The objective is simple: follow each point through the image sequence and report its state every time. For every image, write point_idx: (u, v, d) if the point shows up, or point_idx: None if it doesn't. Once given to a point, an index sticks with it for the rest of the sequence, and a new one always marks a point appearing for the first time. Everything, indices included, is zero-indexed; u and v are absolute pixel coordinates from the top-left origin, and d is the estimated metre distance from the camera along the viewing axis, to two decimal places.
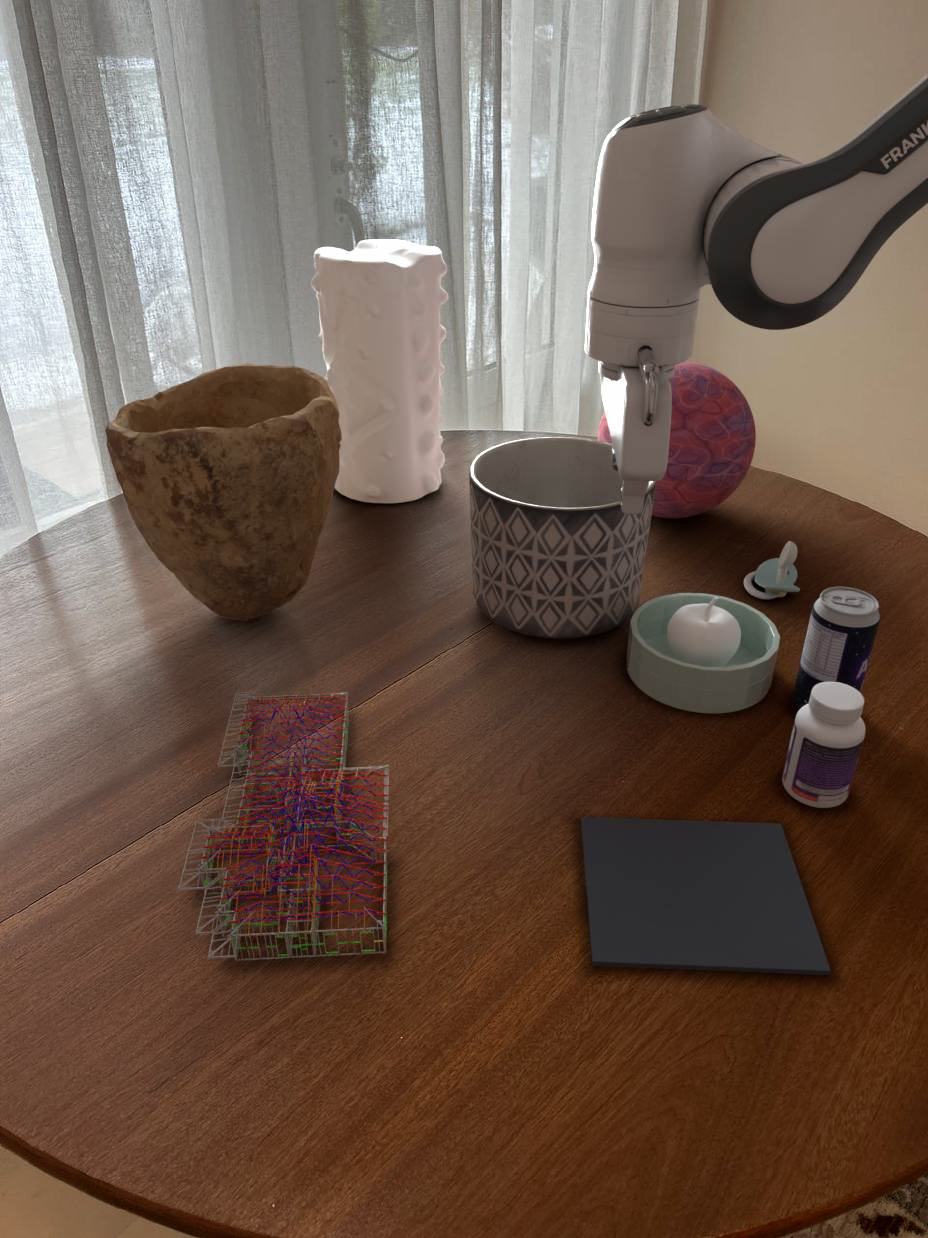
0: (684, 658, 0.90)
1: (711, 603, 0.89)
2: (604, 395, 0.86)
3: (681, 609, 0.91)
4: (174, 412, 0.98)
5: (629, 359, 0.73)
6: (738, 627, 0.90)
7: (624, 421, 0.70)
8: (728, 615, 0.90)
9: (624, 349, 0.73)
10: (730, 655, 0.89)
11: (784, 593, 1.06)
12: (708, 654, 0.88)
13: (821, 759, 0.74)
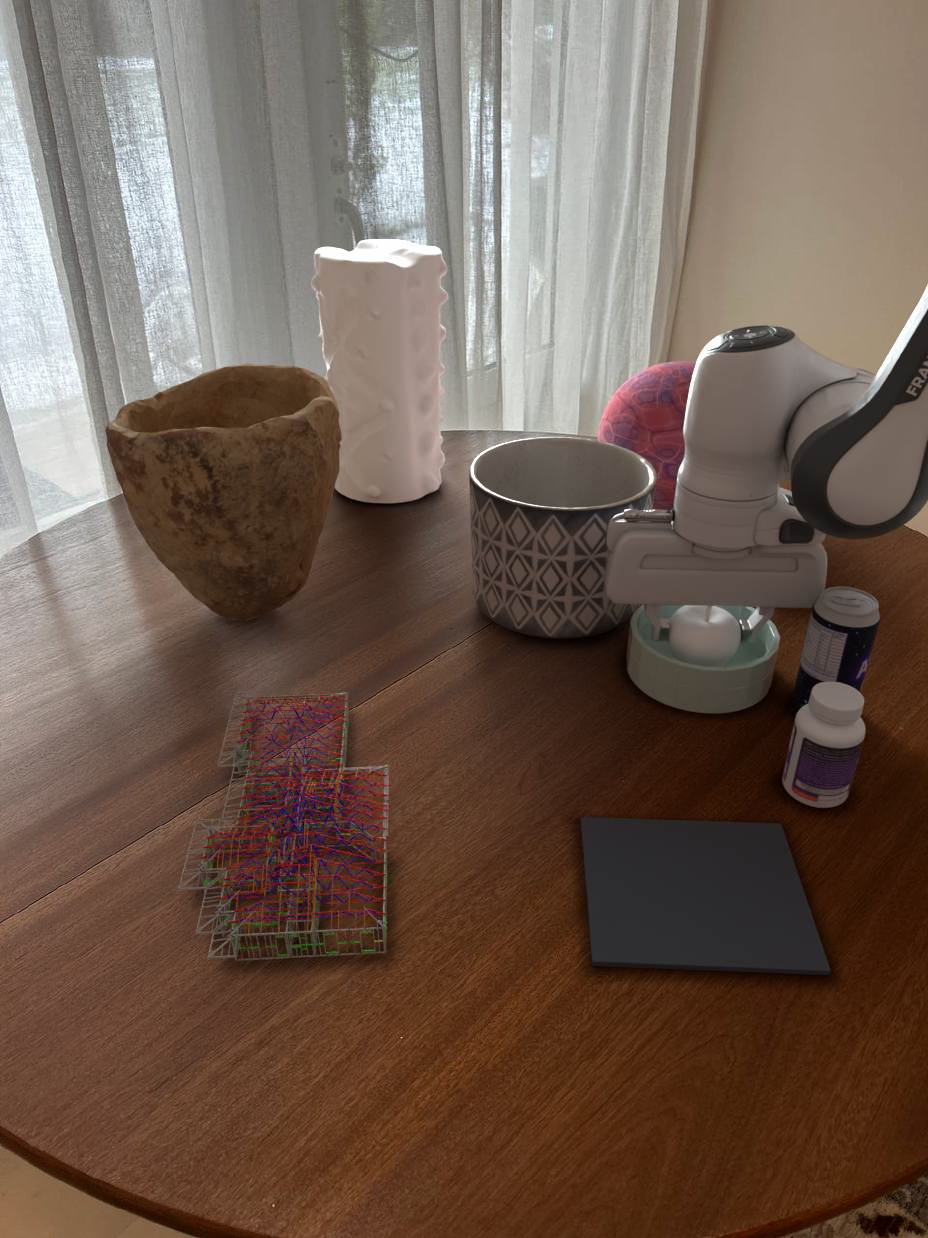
0: (684, 658, 0.90)
1: None
2: None
3: (681, 609, 0.91)
4: (175, 412, 0.98)
5: None
6: (738, 627, 0.90)
7: None
8: (728, 615, 0.90)
9: None
10: (730, 655, 0.89)
11: None
12: (708, 654, 0.88)
13: (821, 759, 0.74)
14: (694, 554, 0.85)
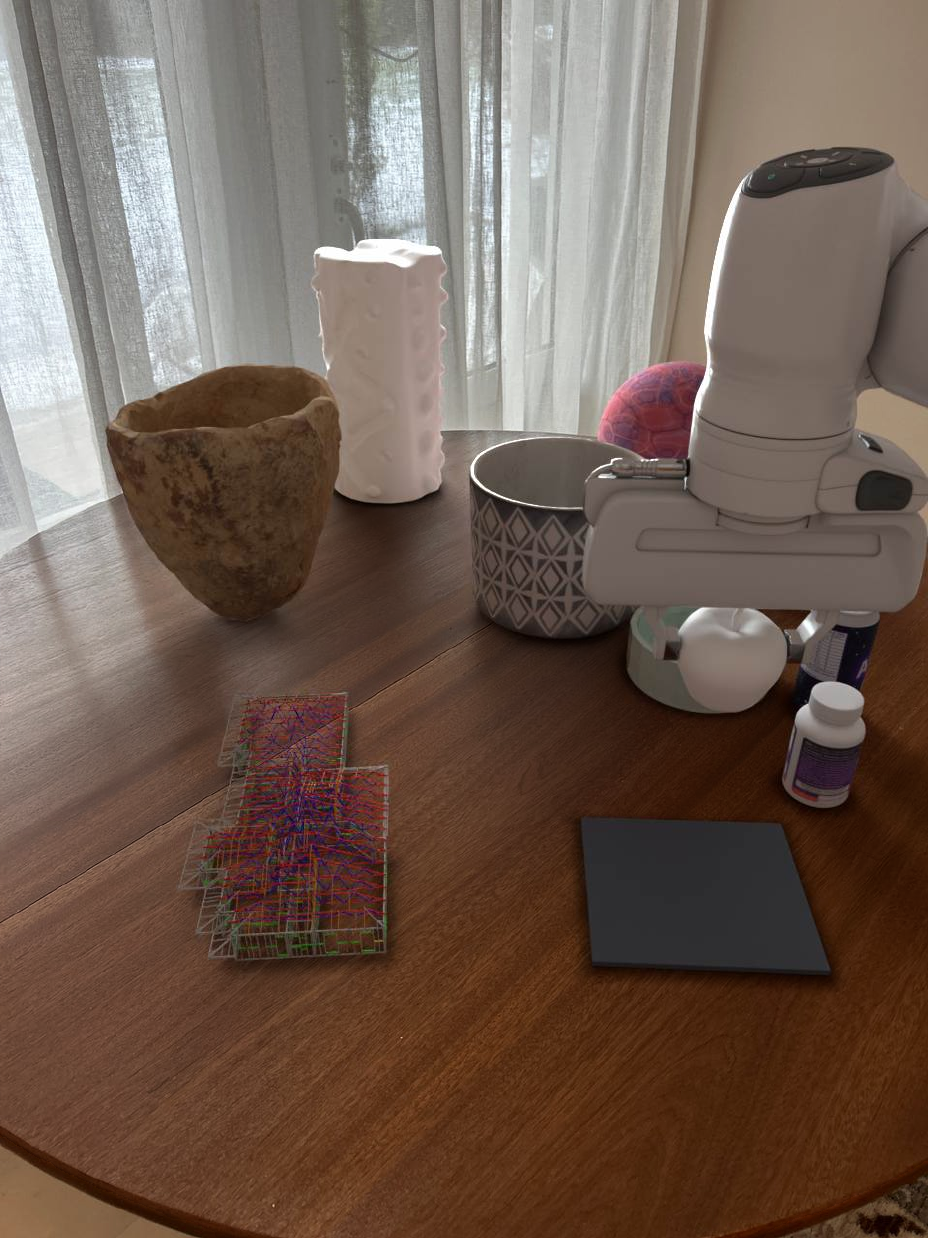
0: (702, 686, 0.60)
1: None
2: None
3: (697, 613, 0.61)
4: (174, 412, 0.98)
5: None
6: (783, 640, 0.59)
7: None
8: (768, 622, 0.60)
9: None
10: (771, 682, 0.59)
11: None
12: (739, 681, 0.58)
13: (821, 759, 0.74)
14: (720, 528, 0.55)
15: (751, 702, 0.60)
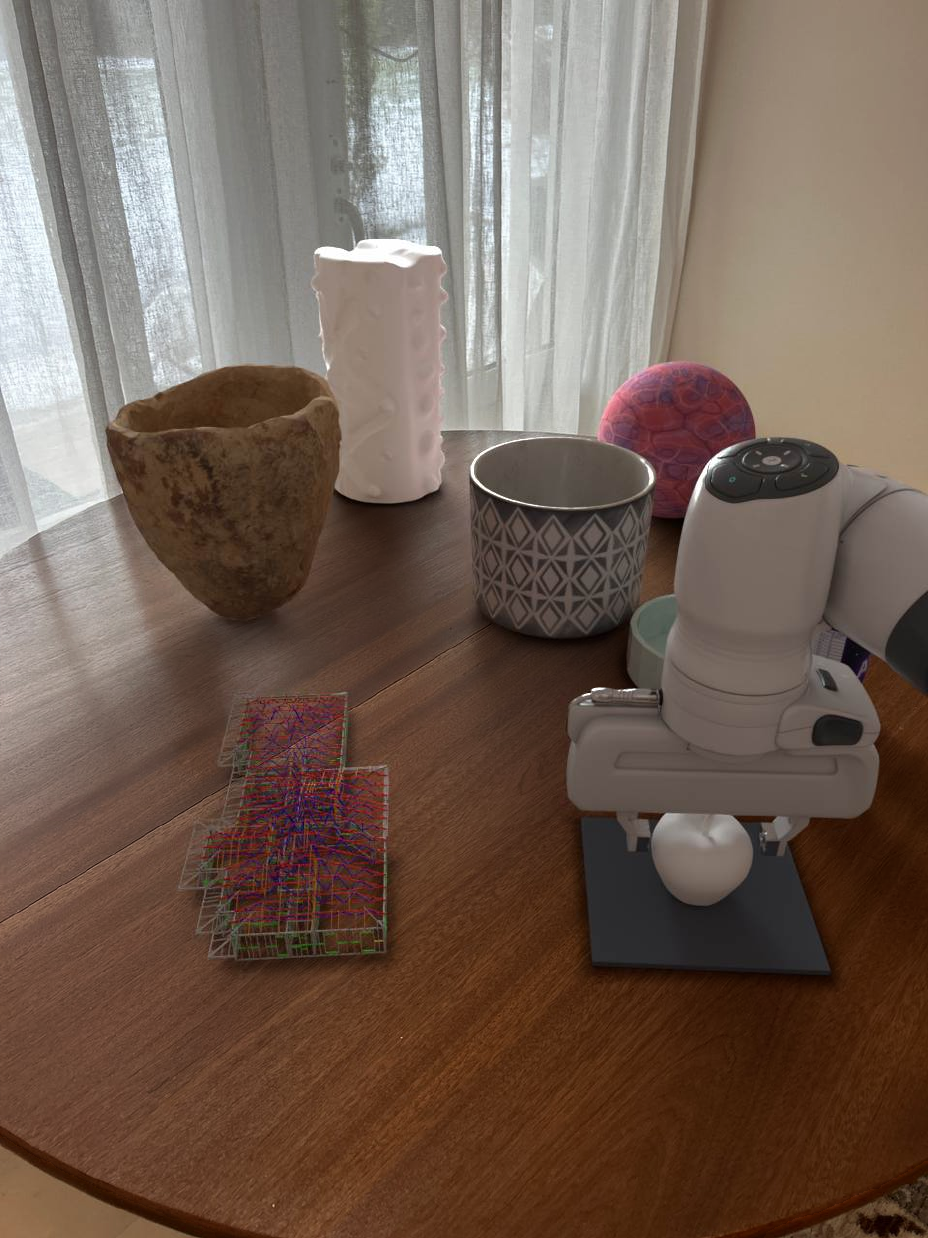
0: (675, 887, 0.65)
1: None
2: None
3: (671, 814, 0.67)
4: (174, 412, 0.98)
5: None
6: (749, 845, 0.65)
7: None
8: (735, 827, 0.66)
9: None
10: (738, 884, 0.65)
11: None
12: (708, 886, 0.64)
13: None
14: (691, 752, 0.60)
15: (720, 899, 0.66)
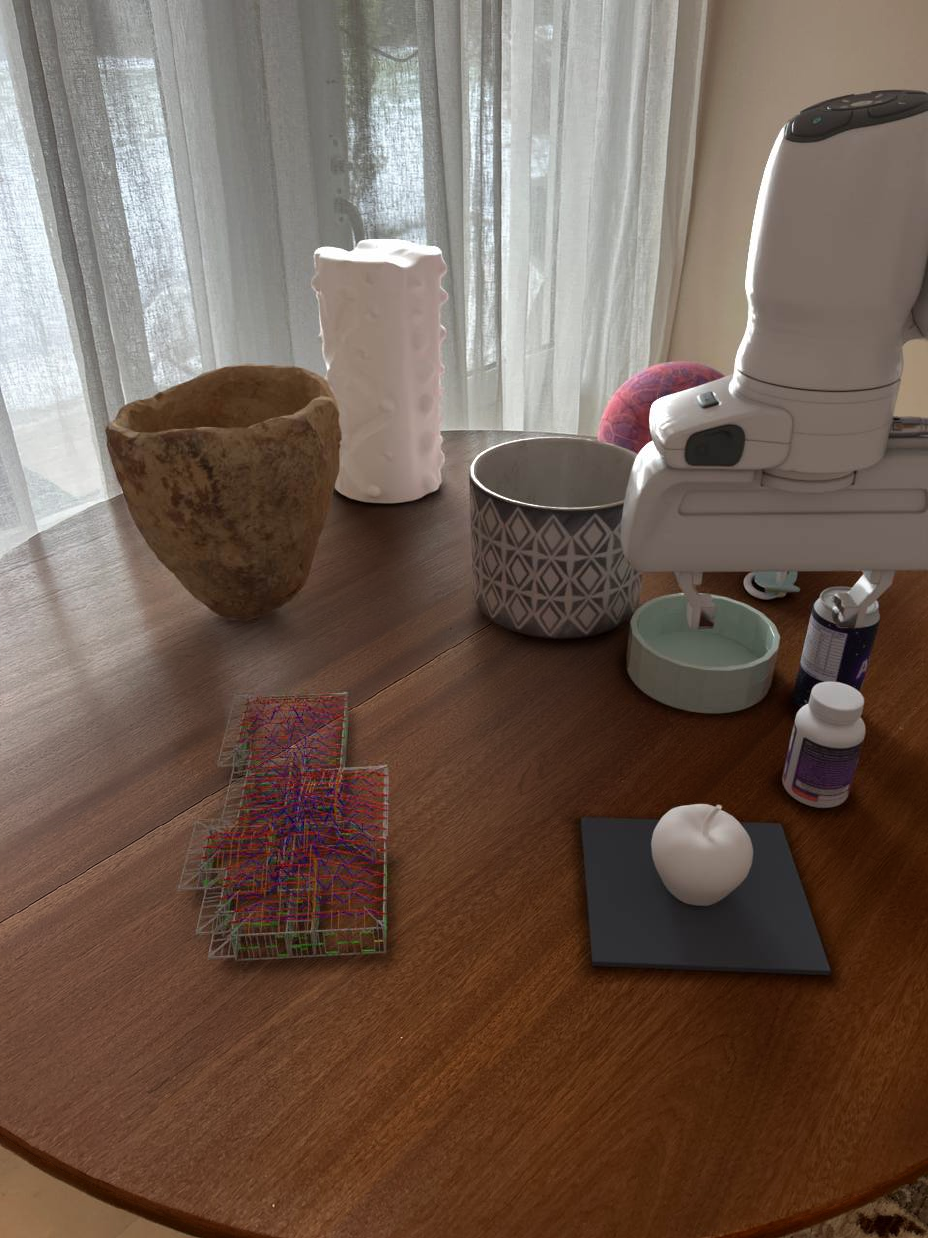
0: (675, 887, 0.65)
1: (712, 813, 0.65)
2: (677, 552, 0.56)
3: (671, 814, 0.67)
4: (175, 412, 0.98)
5: None
6: (749, 845, 0.65)
7: None
8: (735, 827, 0.66)
9: (889, 432, 0.52)
10: (738, 884, 0.65)
11: (784, 593, 1.06)
12: (708, 886, 0.64)
13: (821, 759, 0.74)
14: None
15: (720, 899, 0.66)
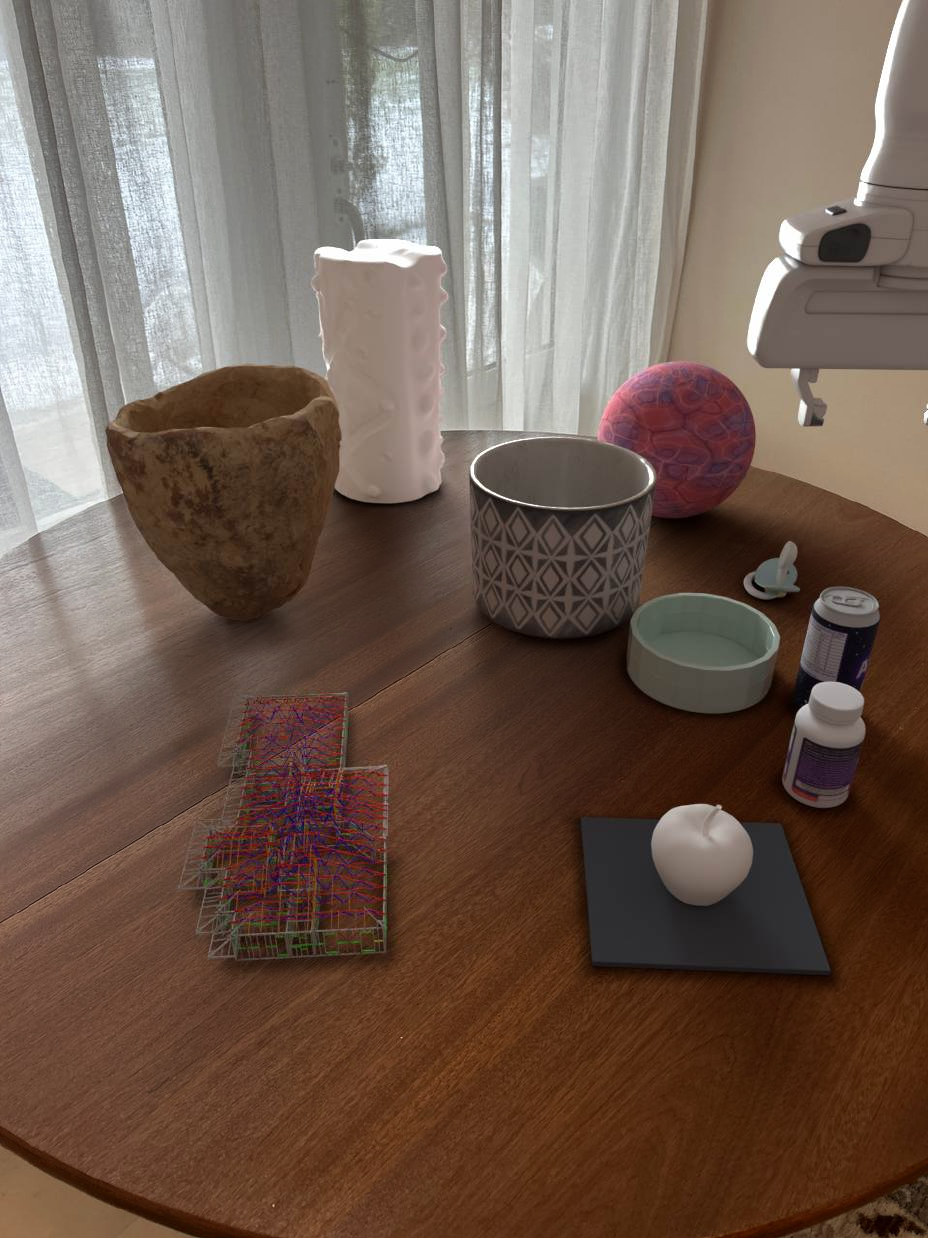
0: (675, 887, 0.65)
1: (712, 813, 0.65)
2: (800, 348, 0.66)
3: (671, 814, 0.67)
4: (174, 412, 0.98)
5: None
6: (749, 845, 0.65)
7: None
8: (735, 827, 0.66)
9: None
10: (738, 884, 0.65)
11: (784, 593, 1.06)
12: (708, 886, 0.64)
13: (821, 759, 0.74)
14: None
15: (720, 899, 0.66)
